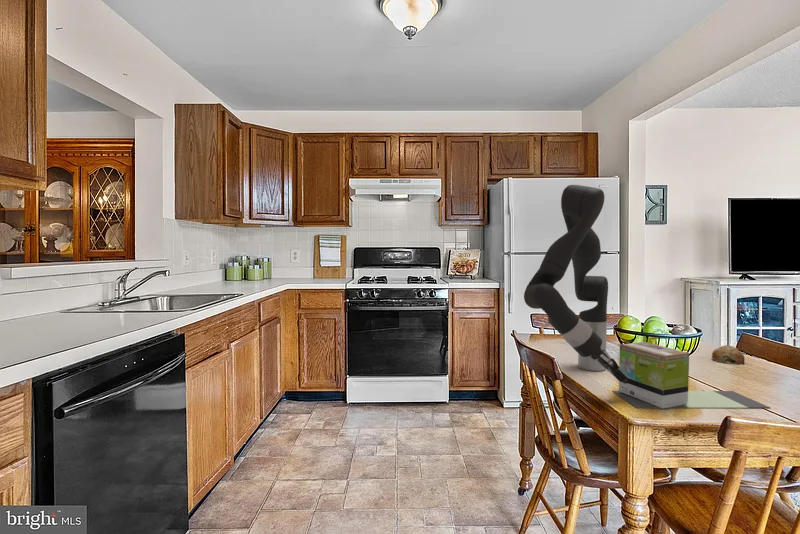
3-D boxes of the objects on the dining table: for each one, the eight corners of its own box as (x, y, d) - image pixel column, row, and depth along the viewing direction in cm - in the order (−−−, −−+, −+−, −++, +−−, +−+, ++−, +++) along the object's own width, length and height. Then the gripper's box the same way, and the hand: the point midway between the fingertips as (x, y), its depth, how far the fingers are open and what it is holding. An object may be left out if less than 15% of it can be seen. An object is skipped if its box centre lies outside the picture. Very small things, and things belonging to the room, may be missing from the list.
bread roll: (715, 371, 171) (719, 355, 168) (706, 354, 180) (710, 338, 176) (745, 373, 169) (750, 356, 165) (735, 356, 177) (740, 339, 174)
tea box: (617, 392, 134) (618, 343, 134) (642, 388, 138) (643, 340, 137) (662, 409, 120) (664, 354, 120) (689, 404, 124) (690, 351, 123)
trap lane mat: (612, 391, 136) (612, 390, 136) (732, 391, 136) (732, 391, 136) (636, 408, 122) (636, 407, 122) (770, 408, 122) (770, 407, 122)
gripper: (600, 331, 122) (644, 376, 122) (581, 323, 135) (621, 364, 135) (580, 351, 122) (624, 396, 122) (563, 341, 135) (603, 381, 136)
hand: (622, 379), depth 129 cm, fingers closed
